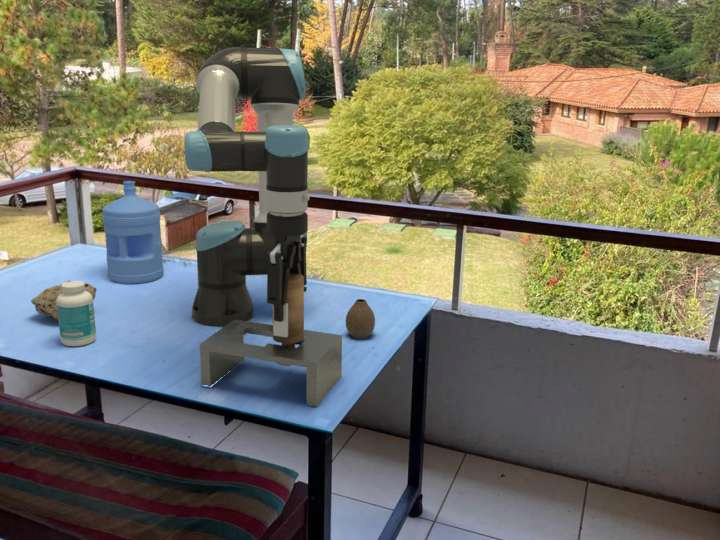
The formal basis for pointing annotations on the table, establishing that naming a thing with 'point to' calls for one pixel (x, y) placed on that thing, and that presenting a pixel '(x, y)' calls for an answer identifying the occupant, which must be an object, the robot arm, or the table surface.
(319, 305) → the table surface
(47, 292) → the pumice stone
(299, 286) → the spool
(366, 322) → the vase
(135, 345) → the table surface
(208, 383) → the keyhole plate
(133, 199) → the water jug
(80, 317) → the pill bottle
